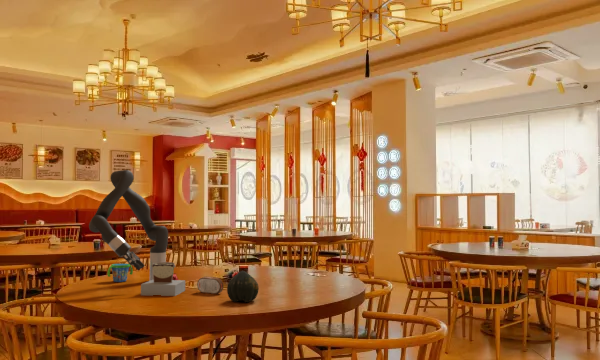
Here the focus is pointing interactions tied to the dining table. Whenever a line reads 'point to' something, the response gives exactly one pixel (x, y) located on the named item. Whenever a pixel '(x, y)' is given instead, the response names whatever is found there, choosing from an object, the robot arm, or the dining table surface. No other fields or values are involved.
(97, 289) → the dining table surface
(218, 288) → the tin
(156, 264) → the food container
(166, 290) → the slate block
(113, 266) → the snack cup
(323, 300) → the dining table surface
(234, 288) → the squash
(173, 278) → the pomegranate
